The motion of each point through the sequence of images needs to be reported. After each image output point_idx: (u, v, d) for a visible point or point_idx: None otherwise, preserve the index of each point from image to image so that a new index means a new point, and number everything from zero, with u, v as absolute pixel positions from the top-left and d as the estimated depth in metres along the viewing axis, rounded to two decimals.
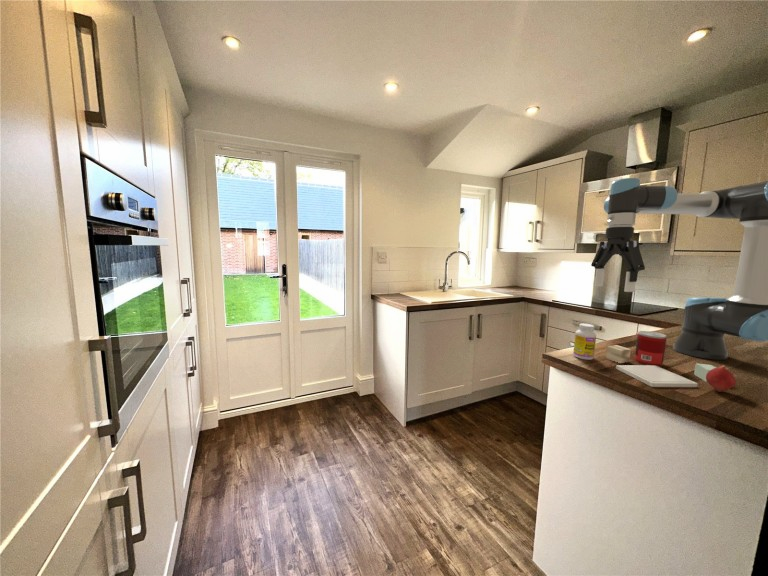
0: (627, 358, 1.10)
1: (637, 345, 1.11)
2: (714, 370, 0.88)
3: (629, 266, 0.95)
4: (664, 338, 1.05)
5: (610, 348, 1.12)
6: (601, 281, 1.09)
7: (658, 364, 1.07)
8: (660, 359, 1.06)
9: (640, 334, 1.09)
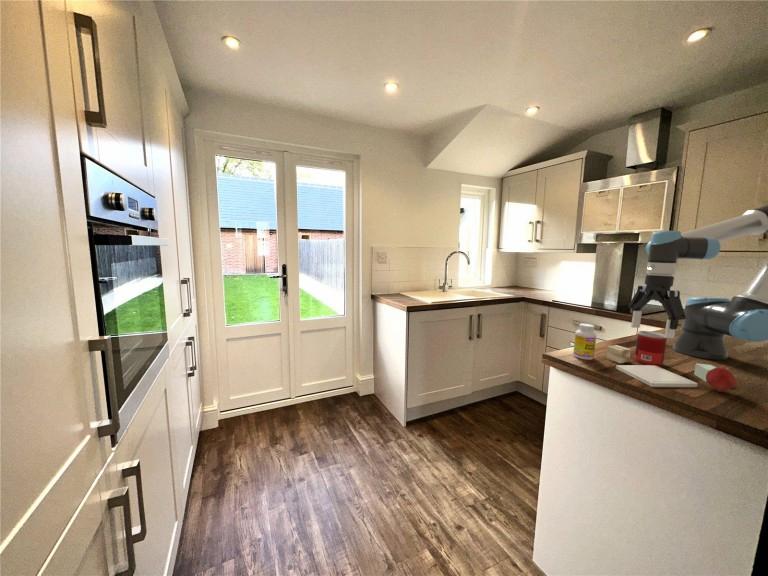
0: (627, 358, 1.10)
1: (637, 345, 1.11)
2: (714, 370, 0.88)
3: (670, 314, 1.01)
4: (664, 338, 1.05)
5: (610, 348, 1.12)
6: (638, 322, 1.15)
7: (658, 364, 1.07)
8: (660, 359, 1.06)
9: (640, 334, 1.09)
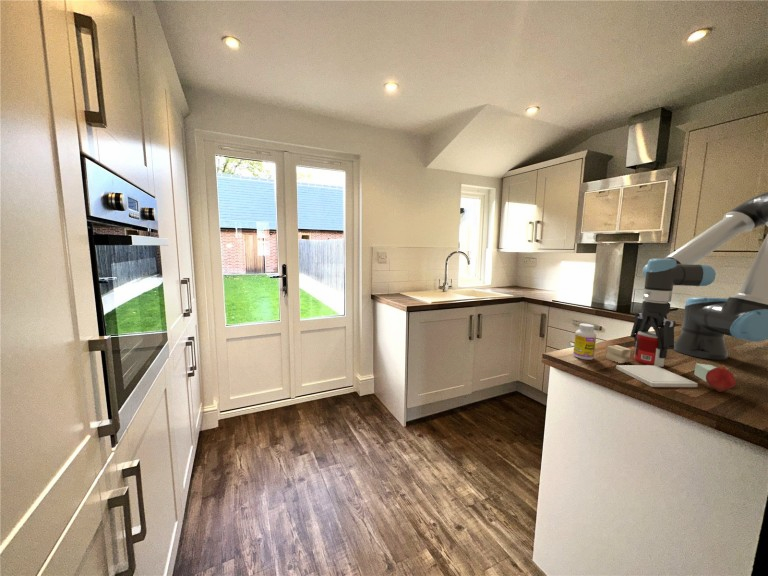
0: (627, 358, 1.10)
1: (637, 345, 1.11)
2: (714, 370, 0.88)
3: (660, 344, 1.04)
4: None
5: (610, 348, 1.12)
6: None
7: None
8: None
9: (640, 334, 1.09)
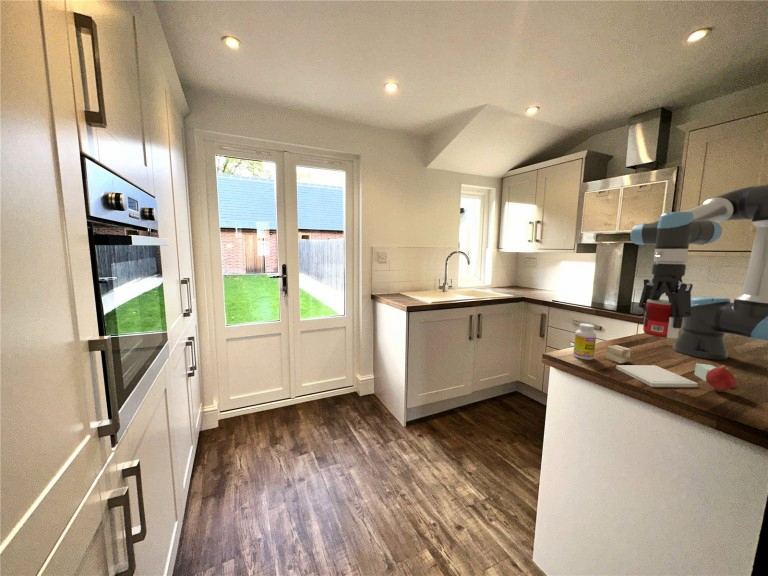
0: (627, 358, 1.10)
1: (646, 315, 0.96)
2: (714, 370, 0.88)
3: (674, 311, 0.90)
4: None
5: (610, 348, 1.12)
6: None
7: None
8: None
9: (650, 302, 0.94)
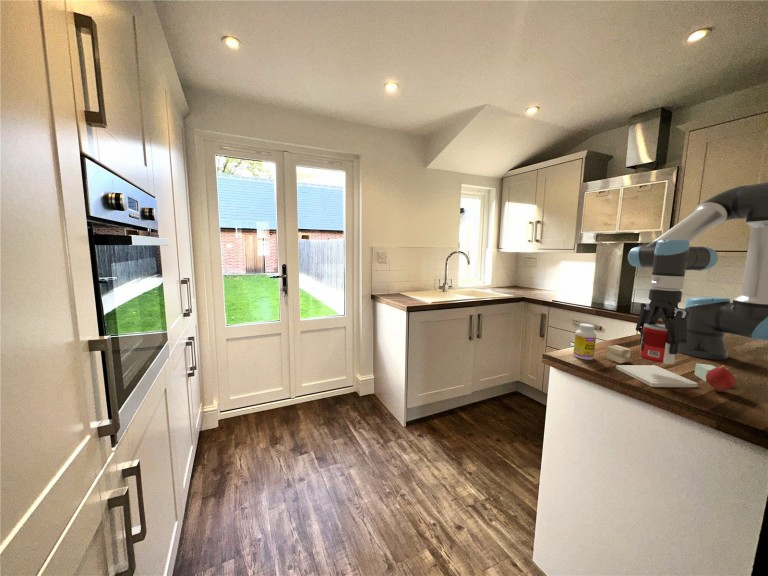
0: (627, 358, 1.10)
1: (643, 339, 0.97)
2: (714, 370, 0.88)
3: (670, 338, 0.91)
4: None
5: (610, 348, 1.12)
6: None
7: None
8: None
9: (647, 327, 0.96)
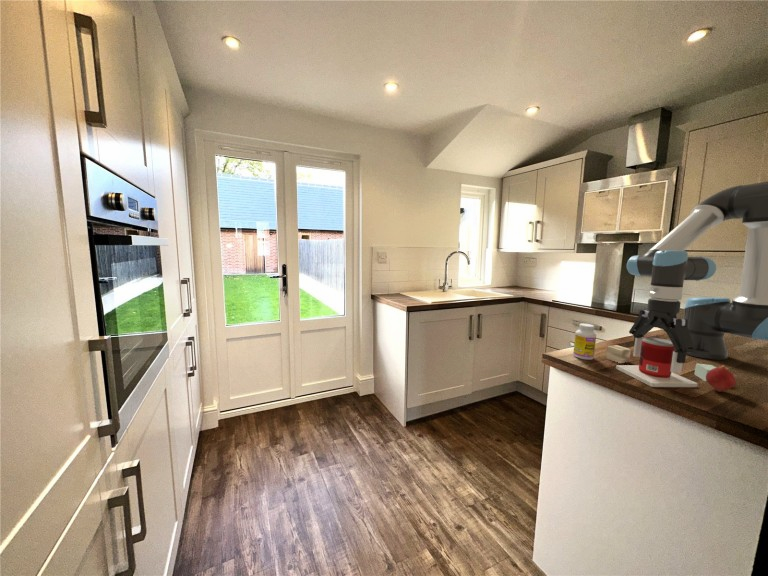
0: (627, 358, 1.10)
1: (641, 354, 0.98)
2: (714, 370, 0.88)
3: (676, 346, 0.89)
4: (672, 346, 0.92)
5: (610, 348, 1.12)
6: None
7: (666, 376, 0.93)
8: (668, 370, 0.93)
9: (645, 341, 0.96)
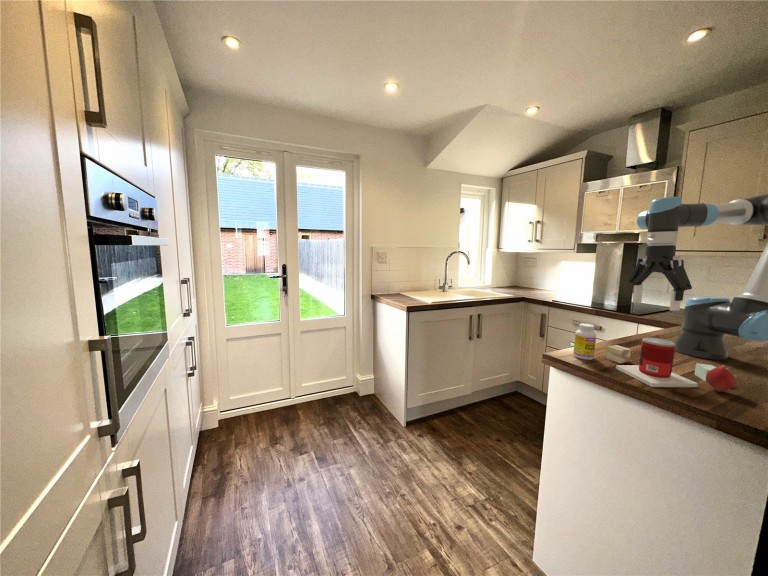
0: (627, 358, 1.10)
1: (641, 354, 0.98)
2: (714, 370, 0.88)
3: (674, 285, 0.95)
4: (673, 346, 0.92)
5: (610, 348, 1.12)
6: (639, 297, 1.09)
7: (666, 376, 0.93)
8: (668, 370, 0.93)
9: (645, 341, 0.96)
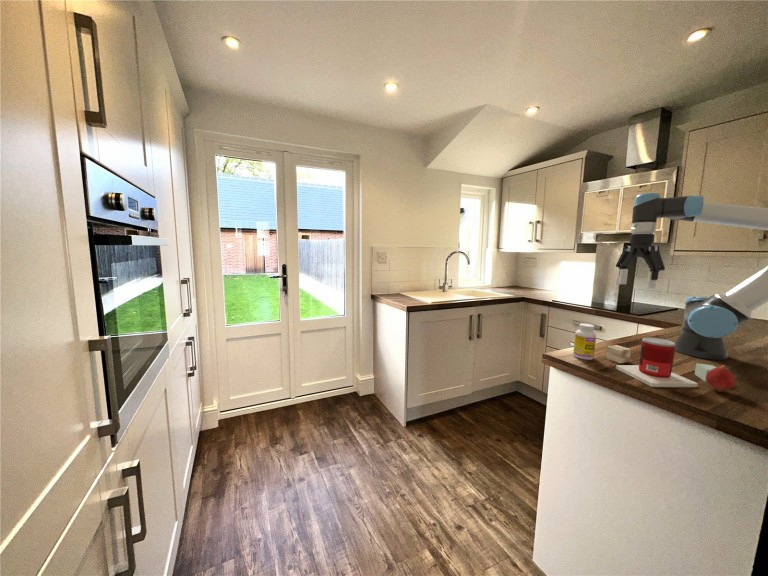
0: (627, 358, 1.10)
1: (641, 354, 0.98)
2: (714, 370, 0.88)
3: (651, 267, 1.14)
4: (673, 346, 0.92)
5: (610, 348, 1.12)
6: (625, 279, 1.28)
7: (666, 376, 0.93)
8: (668, 370, 0.93)
9: (645, 341, 0.96)
